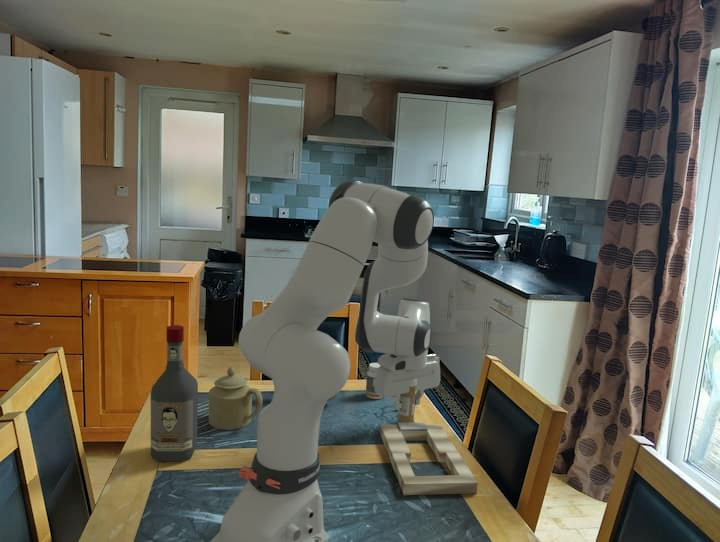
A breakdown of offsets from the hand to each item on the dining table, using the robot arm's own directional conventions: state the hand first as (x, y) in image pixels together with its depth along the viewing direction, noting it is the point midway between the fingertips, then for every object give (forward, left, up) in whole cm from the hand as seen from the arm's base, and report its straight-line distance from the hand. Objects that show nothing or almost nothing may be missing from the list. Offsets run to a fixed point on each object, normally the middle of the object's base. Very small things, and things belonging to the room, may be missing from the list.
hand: (406, 406), depth 146 cm
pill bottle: (+12, +16, -5) cm, 21 cm away
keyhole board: (-15, -12, -5) cm, 20 cm away
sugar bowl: (-26, +37, -5) cm, 45 cm away
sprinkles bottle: (0, 0, -5) cm, 5 cm away
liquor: (-47, +37, -5) cm, 60 cm away
